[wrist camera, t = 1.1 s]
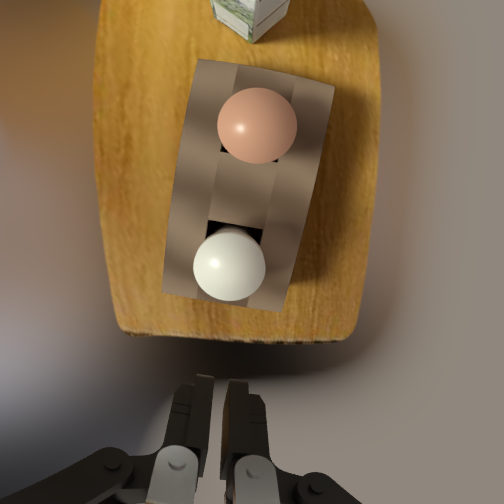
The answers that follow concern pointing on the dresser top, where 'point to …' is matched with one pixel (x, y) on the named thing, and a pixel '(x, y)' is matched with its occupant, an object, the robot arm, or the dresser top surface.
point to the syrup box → (249, 15)
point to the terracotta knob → (257, 125)
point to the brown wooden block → (243, 180)
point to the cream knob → (229, 263)
